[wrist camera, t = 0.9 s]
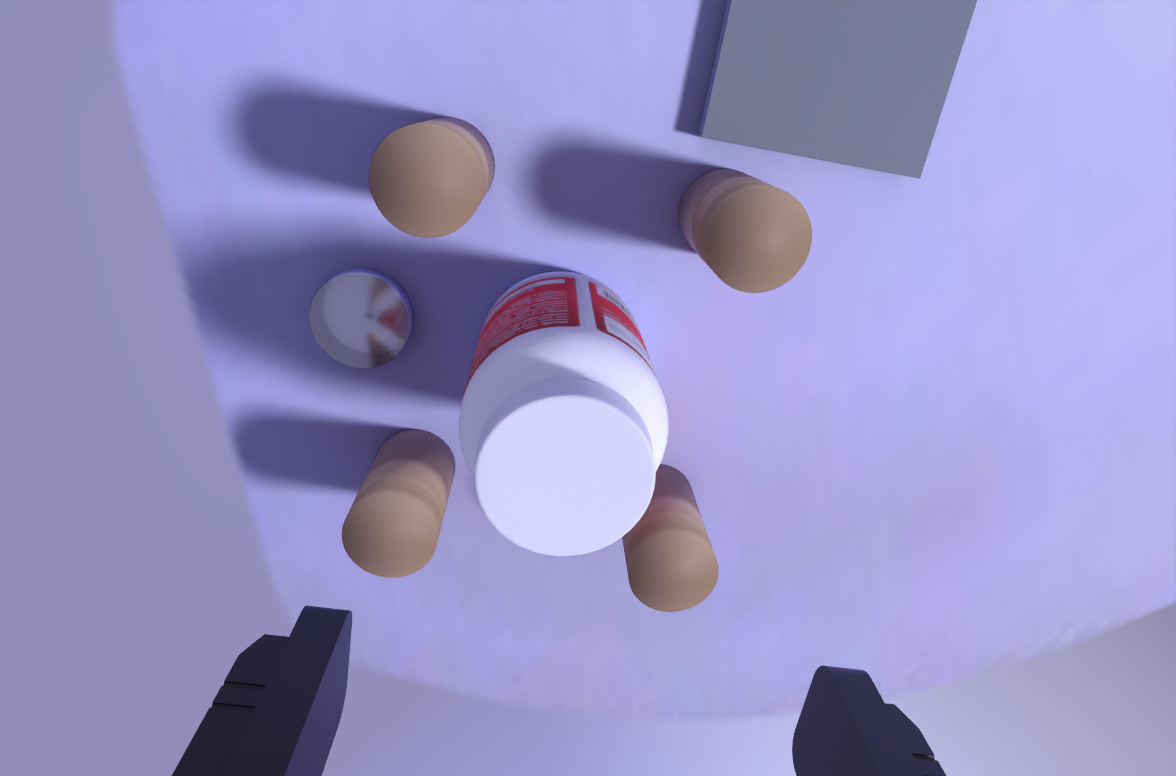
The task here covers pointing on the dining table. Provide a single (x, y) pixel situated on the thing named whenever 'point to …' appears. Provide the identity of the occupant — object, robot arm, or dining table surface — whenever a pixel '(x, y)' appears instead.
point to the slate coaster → (836, 78)
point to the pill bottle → (562, 416)
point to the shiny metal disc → (361, 318)
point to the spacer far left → (400, 505)
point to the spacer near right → (745, 229)
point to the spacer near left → (431, 176)
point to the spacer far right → (670, 548)
